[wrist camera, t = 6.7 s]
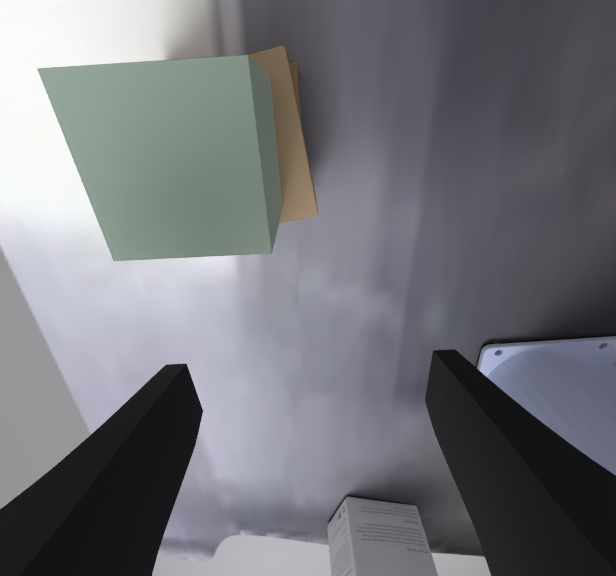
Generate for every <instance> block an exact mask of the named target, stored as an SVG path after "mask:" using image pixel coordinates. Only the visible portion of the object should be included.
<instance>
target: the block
mask: <svg viewBox="0 0 616 576" xmlns="http://www.w3.org/2000/svg"><path fill="white" fill-rule="evenodd" d="M38 71H39V74H40V76H41V79H42V82H43V84H44V87H45V89H46V92H47V94H48V97H49V99H50V102H51V104H52V107H53V109H54V112H55V114H56V117H57V119H58V122H59V124H60V127H61V129H62V132H63V134H64V137H65V139H66V142H67V144H68V147H69V149H70V152H71V154H72V157H73V159H74V162H75V165H76V167H77V170H78V172H79V175H80V177H81V180H82V182H83V185H84V187H85V190H86V192H87V195H88V197H89V200H90V202H91V205H92V207H93V210H94V212H95V215H96V217H97V220H98V222H99V225H100V227H101V230H102V232H103V235H104V237H105V240H106V242H107V245H108V248H109V250H110V253H111V255H112V258H113V260H114V261H124V260H145V259H165V258H185V257H206V256H226V255H246V254H266V253H272V249H273V245H274V241H275V237H276V233H277V229H278V225H279V221H280V217H281V213H282V209H283V205H282V194H281V184H280V173H279V162H278V151H277V141H276V130H275V119H274V109H273V98H272V87H271V76H270V75H269V74H268V73H267V72H266V71H265V70H264V69H263V68H262V67H261V66H260V65H258V64H257V63H256V62H255V61H254V60H253V59H252V58H251V57H250V56H248V55H238V56H222V57H207V58H192V59H176V60H161V61H146V62H131V63H115V64H100V65H85V66H69V67H54V68H39V69H38Z"/></svg>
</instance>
